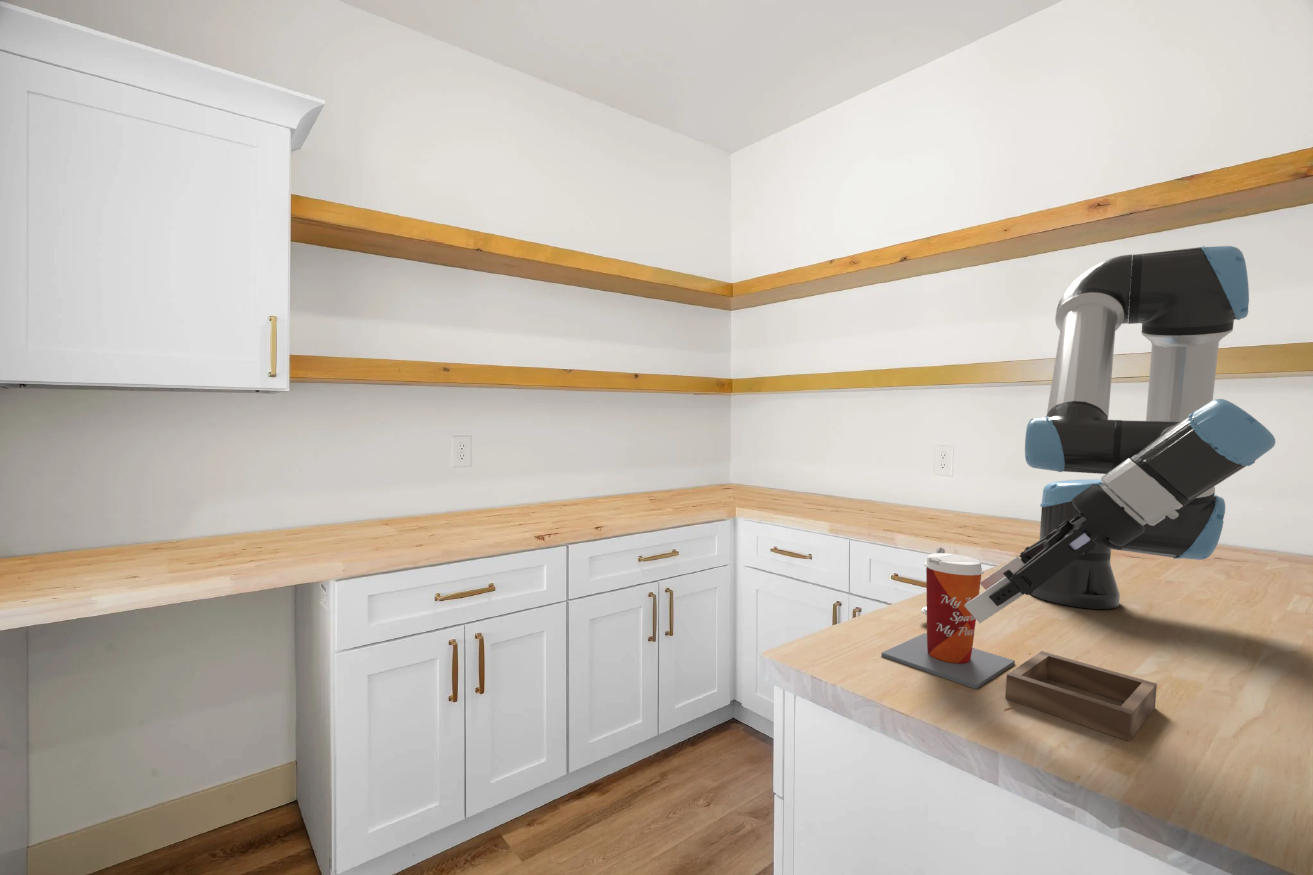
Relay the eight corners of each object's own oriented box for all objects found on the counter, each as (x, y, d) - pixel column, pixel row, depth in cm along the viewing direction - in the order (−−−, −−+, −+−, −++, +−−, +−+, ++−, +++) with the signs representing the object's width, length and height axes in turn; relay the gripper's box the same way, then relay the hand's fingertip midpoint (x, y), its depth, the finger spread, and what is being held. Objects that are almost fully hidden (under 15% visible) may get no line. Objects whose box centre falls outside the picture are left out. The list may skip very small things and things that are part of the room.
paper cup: (945, 668, 83) (950, 566, 82) (907, 647, 90) (912, 553, 90) (992, 664, 85) (998, 564, 84) (952, 643, 92) (957, 551, 92)
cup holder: (1040, 672, 84) (1041, 651, 84) (1155, 707, 75) (1156, 683, 74) (1005, 698, 76) (1006, 674, 76) (1129, 741, 66) (1131, 714, 66)
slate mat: (924, 636, 96) (924, 633, 96) (1014, 663, 87) (1014, 660, 87) (881, 655, 88) (881, 652, 88) (976, 689, 78) (976, 685, 78)
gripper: (1158, 545, 64) (988, 652, 73) (1141, 515, 84) (1010, 602, 93) (1098, 490, 67) (942, 599, 76) (1096, 474, 87) (973, 562, 96)
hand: (979, 601), depth 85 cm, fingers open, 13 cm apart
